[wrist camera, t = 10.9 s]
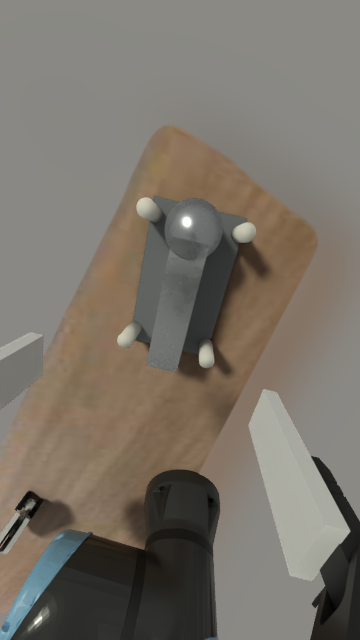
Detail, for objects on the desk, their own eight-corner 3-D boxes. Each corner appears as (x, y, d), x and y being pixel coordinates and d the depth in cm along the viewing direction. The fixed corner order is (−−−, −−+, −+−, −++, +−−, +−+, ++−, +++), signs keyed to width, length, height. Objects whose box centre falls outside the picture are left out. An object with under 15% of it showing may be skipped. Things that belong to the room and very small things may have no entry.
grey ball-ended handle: (186, 352, 34) (183, 374, 29) (148, 343, 34) (138, 363, 29) (223, 213, 28) (230, 206, 22) (176, 202, 28) (171, 191, 22)
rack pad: (208, 354, 35) (210, 375, 30) (128, 335, 35) (115, 352, 30) (249, 220, 29) (262, 214, 23) (151, 196, 29) (139, 184, 23)
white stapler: (40, 501, 55) (47, 498, 45) (4, 556, 48) (3, 566, 38) (26, 493, 55) (29, 488, 45) (-13, 547, 47) (-19, 555, 37)
